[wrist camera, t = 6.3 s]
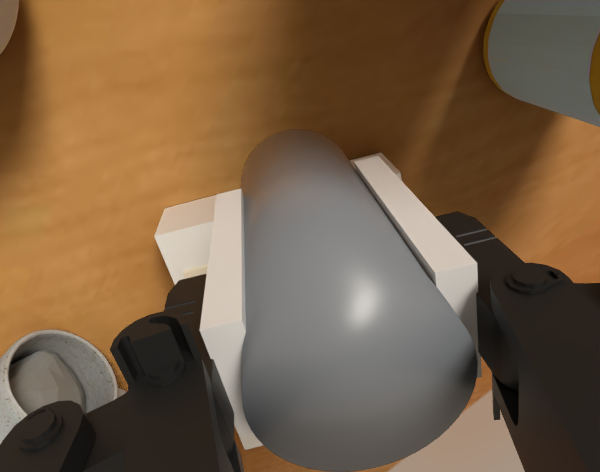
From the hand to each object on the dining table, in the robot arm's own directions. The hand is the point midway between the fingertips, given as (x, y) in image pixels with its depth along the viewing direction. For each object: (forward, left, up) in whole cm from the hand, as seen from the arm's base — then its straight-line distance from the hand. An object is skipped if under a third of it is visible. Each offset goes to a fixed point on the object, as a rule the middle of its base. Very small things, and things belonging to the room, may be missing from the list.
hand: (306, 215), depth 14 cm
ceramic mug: (+19, +15, -15) cm, 29 cm away
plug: (0, 0, -3) cm, 3 cm away
